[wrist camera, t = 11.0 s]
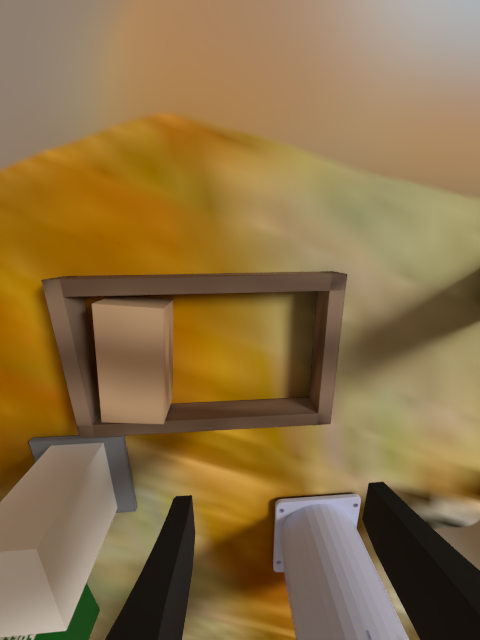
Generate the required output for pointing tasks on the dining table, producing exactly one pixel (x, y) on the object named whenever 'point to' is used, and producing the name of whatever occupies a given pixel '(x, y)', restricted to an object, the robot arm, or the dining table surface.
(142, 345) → the tan rectangular block
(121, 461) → the mat
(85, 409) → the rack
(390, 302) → the dining table surface
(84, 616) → the milk carton
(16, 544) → the cream rectangular prism
